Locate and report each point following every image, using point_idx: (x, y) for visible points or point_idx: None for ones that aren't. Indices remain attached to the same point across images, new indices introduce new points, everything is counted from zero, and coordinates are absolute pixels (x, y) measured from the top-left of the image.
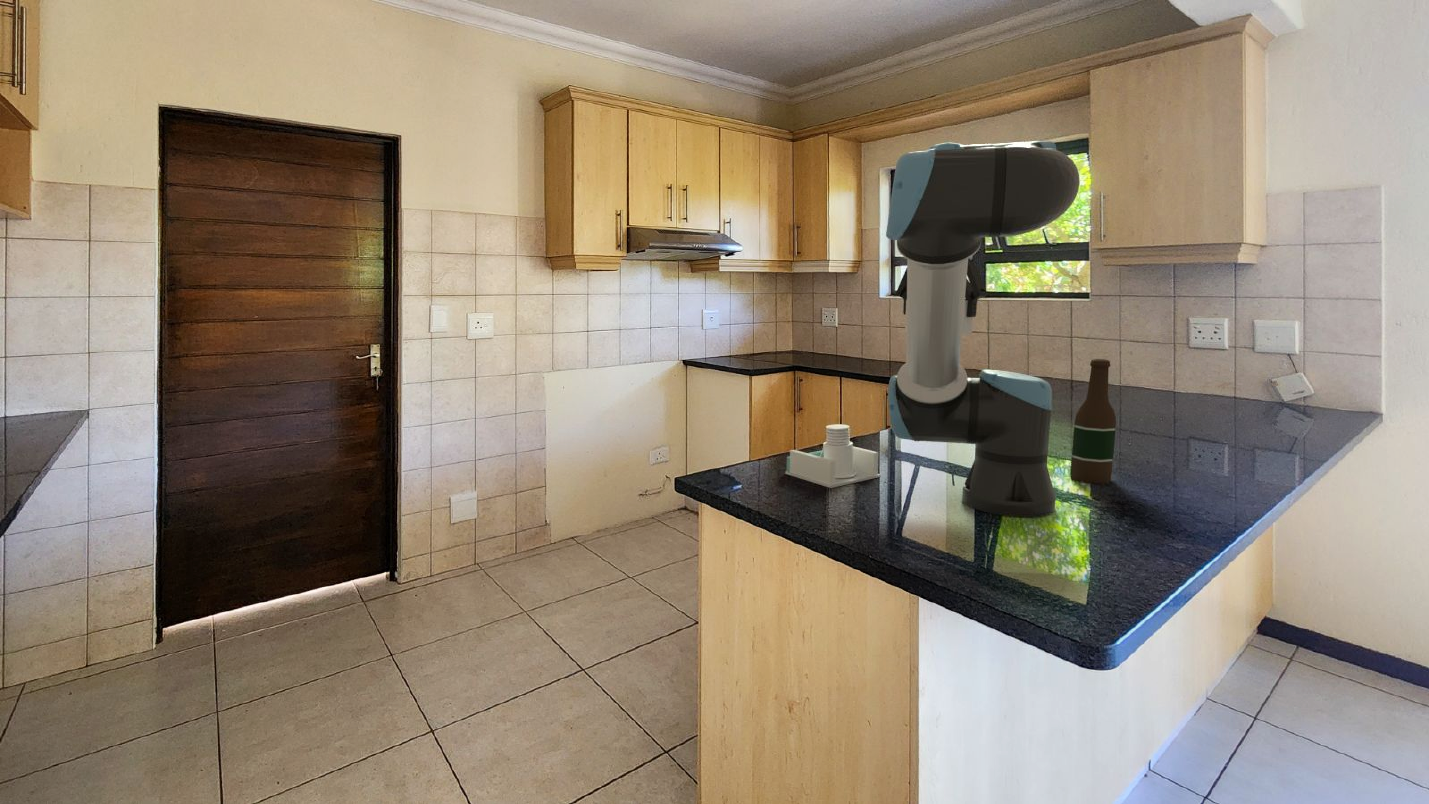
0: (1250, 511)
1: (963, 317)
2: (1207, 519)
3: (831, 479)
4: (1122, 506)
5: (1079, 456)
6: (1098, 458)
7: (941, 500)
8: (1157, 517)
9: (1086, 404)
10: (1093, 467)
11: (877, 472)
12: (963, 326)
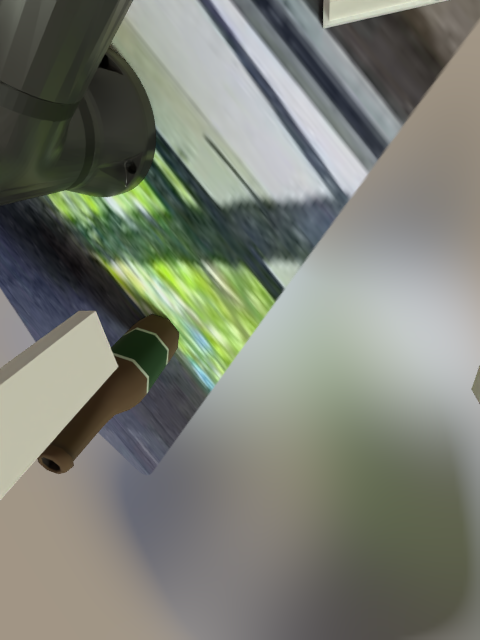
0: (36, 336)
1: (12, 365)
2: (19, 283)
3: None
4: (65, 257)
5: (141, 331)
6: (123, 336)
7: (141, 24)
8: (28, 249)
9: (102, 387)
10: (133, 327)
11: (329, 19)
12: (53, 333)
